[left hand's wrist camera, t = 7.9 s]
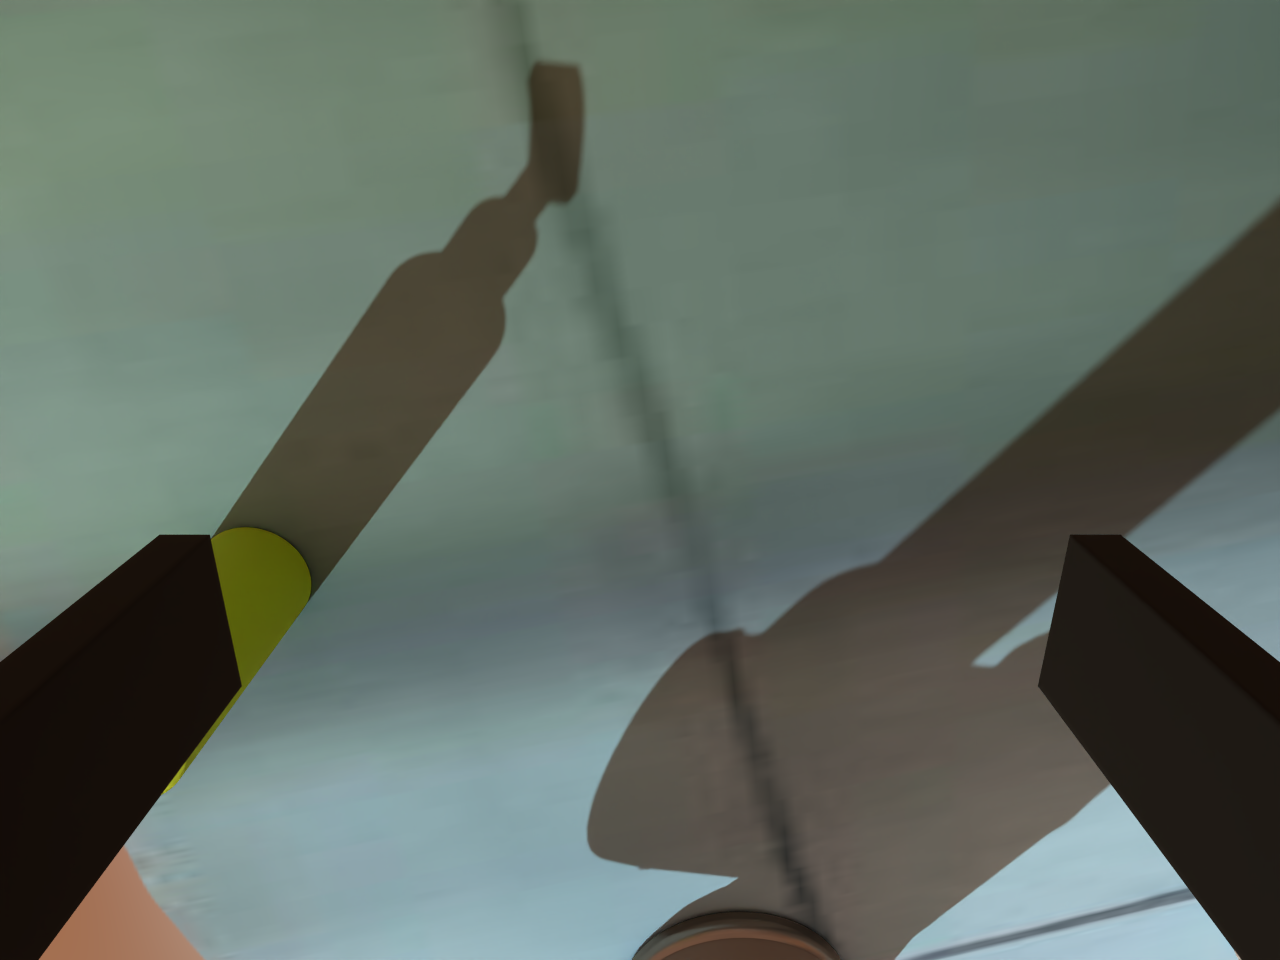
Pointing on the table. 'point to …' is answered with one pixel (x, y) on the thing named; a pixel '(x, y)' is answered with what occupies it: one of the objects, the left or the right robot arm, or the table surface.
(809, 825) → the table surface
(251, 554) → the soap dispenser
